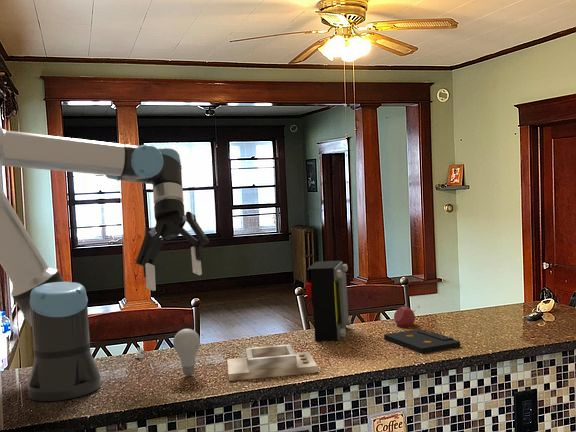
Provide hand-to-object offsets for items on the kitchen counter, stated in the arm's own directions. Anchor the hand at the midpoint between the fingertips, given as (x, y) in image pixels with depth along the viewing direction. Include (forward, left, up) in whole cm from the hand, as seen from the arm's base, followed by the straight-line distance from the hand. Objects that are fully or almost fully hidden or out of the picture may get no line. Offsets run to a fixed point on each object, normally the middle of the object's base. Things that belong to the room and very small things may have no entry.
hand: (173, 281), depth 145 cm
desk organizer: (+22, -7, -21) cm, 31 cm away
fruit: (+66, +26, -21) cm, 74 cm away
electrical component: (+42, +23, -21) cm, 52 cm away
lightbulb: (+3, -7, -21) cm, 23 cm away
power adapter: (-13, +15, -22) cm, 29 cm away
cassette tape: (+62, +4, -22) cm, 66 cm away
